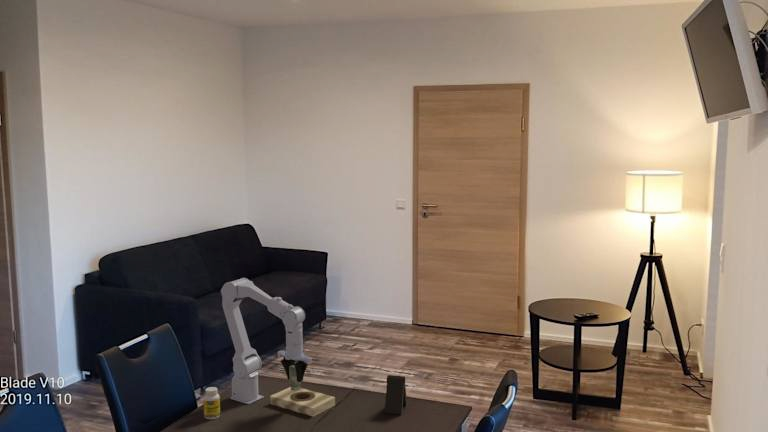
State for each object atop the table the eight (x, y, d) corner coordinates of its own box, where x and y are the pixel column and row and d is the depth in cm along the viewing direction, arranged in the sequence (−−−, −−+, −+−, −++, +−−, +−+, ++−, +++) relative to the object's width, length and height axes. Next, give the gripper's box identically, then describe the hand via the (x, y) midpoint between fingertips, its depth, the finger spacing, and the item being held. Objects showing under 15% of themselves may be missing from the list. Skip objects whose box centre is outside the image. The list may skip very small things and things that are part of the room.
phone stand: (401, 415, 229) (401, 381, 228) (384, 413, 231) (384, 379, 229) (407, 405, 238) (407, 372, 237) (391, 403, 239) (390, 371, 238)
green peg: (287, 389, 234) (286, 367, 234) (295, 386, 238) (294, 364, 237) (295, 391, 232) (295, 369, 231) (303, 388, 235) (303, 366, 235)
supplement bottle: (206, 421, 225) (205, 392, 224) (202, 415, 230) (201, 387, 229) (222, 417, 228) (221, 390, 227) (218, 412, 233) (217, 385, 232)
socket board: (270, 404, 240) (270, 395, 239) (293, 393, 249) (292, 385, 249) (313, 416, 228) (313, 407, 228) (335, 405, 238) (335, 396, 238)
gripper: (271, 341, 234) (272, 379, 236) (302, 348, 226) (303, 387, 227) (285, 336, 240) (286, 373, 241) (316, 343, 231) (316, 381, 233)
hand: (295, 380), depth 235 cm, fingers closed on green peg, 4 cm apart
